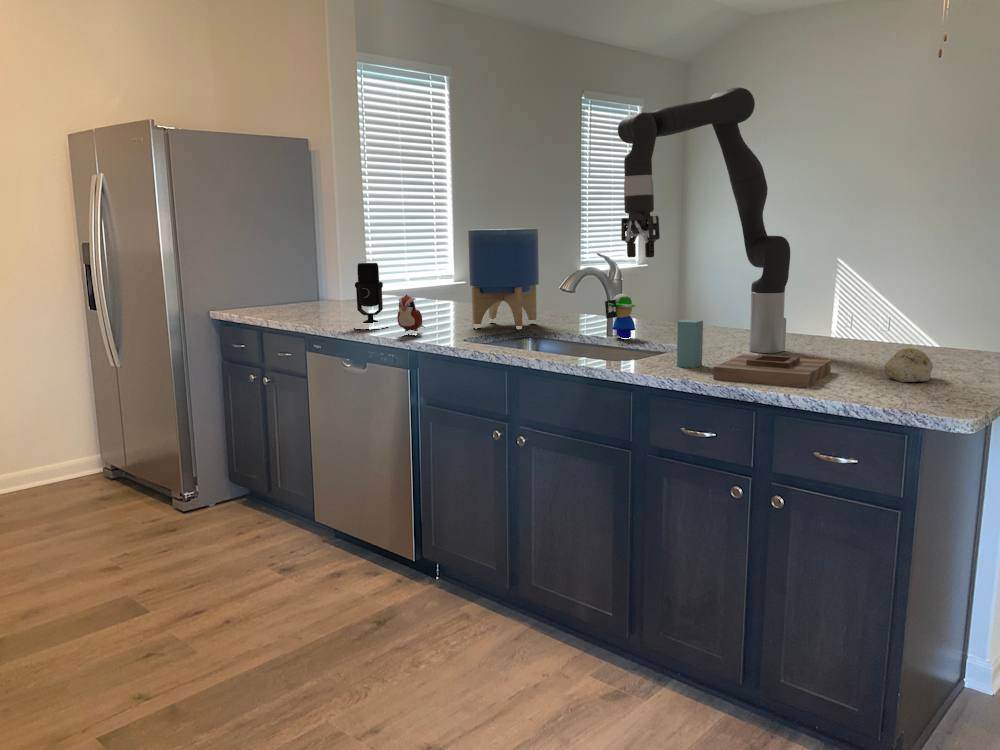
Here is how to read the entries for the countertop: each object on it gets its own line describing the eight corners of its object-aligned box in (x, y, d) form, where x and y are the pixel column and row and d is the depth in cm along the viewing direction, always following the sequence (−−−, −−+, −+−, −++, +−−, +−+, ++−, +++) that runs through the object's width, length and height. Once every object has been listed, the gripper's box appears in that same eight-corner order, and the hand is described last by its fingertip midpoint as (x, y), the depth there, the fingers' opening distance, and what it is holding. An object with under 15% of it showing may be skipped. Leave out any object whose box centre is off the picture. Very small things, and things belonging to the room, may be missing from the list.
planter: (460, 325, 315) (457, 230, 308) (520, 320, 326) (518, 228, 319) (488, 332, 292) (485, 229, 285) (551, 327, 302) (550, 228, 296)
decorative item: (882, 356, 198) (925, 341, 193) (896, 390, 197) (939, 376, 192) (874, 357, 188) (919, 342, 183) (889, 393, 187) (935, 378, 181)
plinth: (742, 365, 213) (743, 349, 213) (830, 372, 201) (831, 355, 200) (713, 379, 196) (713, 362, 195) (807, 387, 183) (808, 369, 183)
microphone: (347, 329, 310) (343, 264, 305) (363, 325, 322) (359, 262, 318) (379, 330, 306) (376, 263, 301) (394, 326, 318) (391, 262, 314)
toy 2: (603, 338, 270) (603, 293, 268) (627, 336, 273) (627, 292, 271) (616, 341, 262) (616, 295, 259) (640, 339, 265) (641, 294, 263)
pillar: (684, 363, 218) (685, 319, 216) (702, 365, 215) (703, 320, 213) (677, 366, 214) (677, 321, 212) (695, 368, 211) (696, 322, 209)
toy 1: (392, 338, 282) (390, 295, 279) (408, 332, 298) (406, 291, 295) (415, 338, 280) (414, 295, 277) (430, 332, 296) (429, 291, 293)
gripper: (667, 191, 204) (668, 256, 207) (635, 195, 217) (637, 256, 219) (642, 192, 201) (643, 258, 204) (611, 196, 214) (613, 258, 217)
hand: (640, 257), depth 212 cm, fingers open, 8 cm apart
